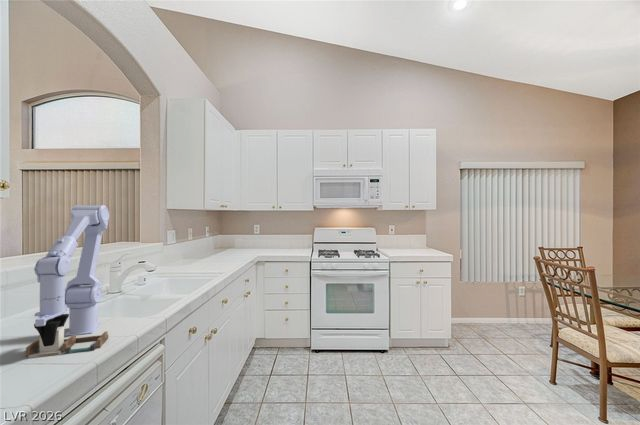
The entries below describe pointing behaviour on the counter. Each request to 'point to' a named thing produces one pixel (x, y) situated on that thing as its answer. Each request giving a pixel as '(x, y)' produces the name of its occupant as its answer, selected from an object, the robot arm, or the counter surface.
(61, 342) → the plug
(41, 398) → the counter surface
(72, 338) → the slot rack
